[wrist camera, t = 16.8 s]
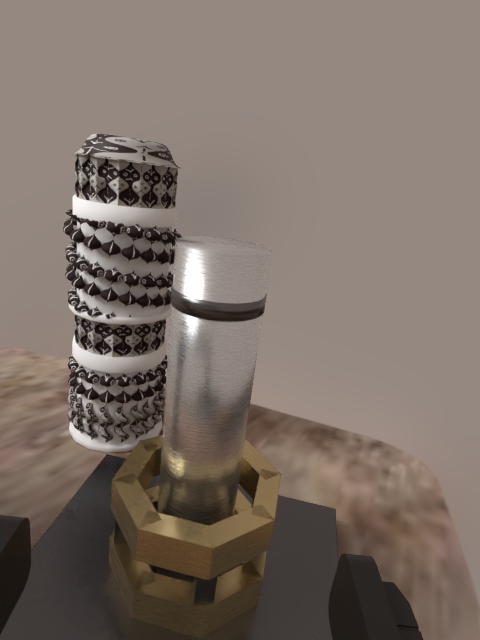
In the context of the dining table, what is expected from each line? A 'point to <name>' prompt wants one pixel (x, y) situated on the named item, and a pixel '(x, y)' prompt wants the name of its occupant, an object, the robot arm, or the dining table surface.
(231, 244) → the metal thermos flask
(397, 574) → the dining table surface
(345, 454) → the dining table surface
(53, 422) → the dining table surface
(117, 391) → the decorative candle
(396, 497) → the dining table surface
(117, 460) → the collar stand
